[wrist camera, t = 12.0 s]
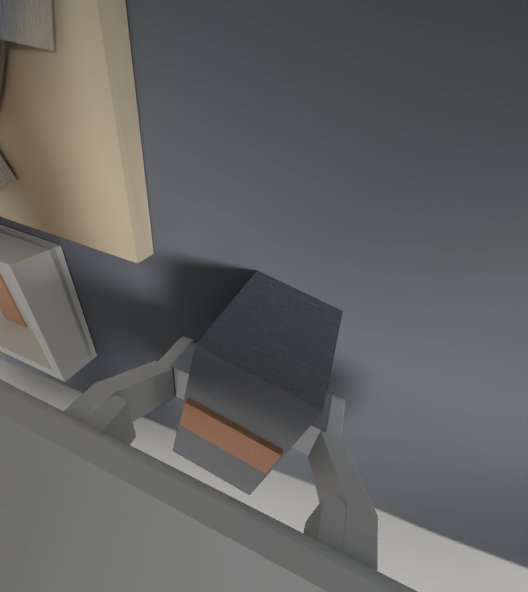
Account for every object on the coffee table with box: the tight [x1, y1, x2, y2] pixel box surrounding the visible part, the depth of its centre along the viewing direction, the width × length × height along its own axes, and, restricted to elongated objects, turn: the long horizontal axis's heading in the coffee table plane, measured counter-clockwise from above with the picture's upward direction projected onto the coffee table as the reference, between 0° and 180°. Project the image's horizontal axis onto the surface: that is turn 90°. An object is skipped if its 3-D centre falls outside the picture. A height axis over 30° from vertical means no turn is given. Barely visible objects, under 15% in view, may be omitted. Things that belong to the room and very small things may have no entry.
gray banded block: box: [173, 271, 342, 495], centre depth 11 cm, size 4×7×4 cm, turn 162°
